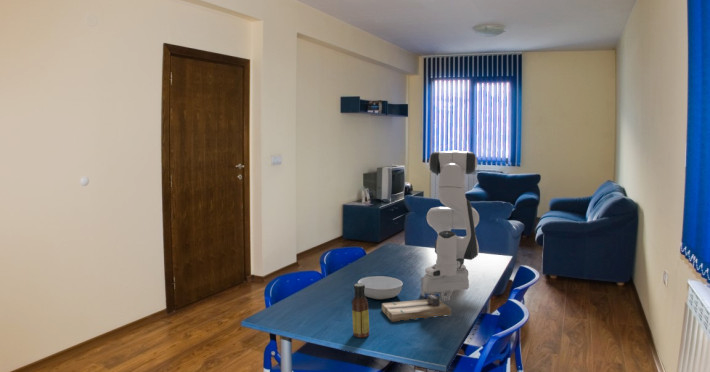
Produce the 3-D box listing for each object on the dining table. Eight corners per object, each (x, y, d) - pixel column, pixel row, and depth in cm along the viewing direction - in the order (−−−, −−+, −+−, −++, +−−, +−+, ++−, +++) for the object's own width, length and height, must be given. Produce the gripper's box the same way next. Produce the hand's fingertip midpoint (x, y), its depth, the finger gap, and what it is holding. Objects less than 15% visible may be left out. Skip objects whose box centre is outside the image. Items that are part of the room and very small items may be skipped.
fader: (427, 301, 225) (427, 294, 224) (433, 301, 225) (433, 294, 225) (432, 306, 219) (432, 299, 219) (439, 305, 220) (439, 298, 219)
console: (381, 310, 224) (381, 303, 224) (437, 304, 231) (437, 298, 230) (392, 321, 211) (392, 314, 210) (451, 315, 217) (451, 308, 217)
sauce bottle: (368, 331, 200) (368, 281, 198) (369, 338, 194) (369, 286, 192) (351, 332, 200) (351, 282, 198) (352, 338, 194) (352, 287, 192)
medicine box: (424, 297, 240) (424, 279, 239) (420, 294, 245) (420, 276, 244) (439, 296, 242) (440, 278, 242) (435, 293, 247) (436, 275, 246)
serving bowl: (399, 305, 230) (400, 290, 230) (353, 302, 235) (353, 287, 234) (404, 290, 251) (405, 277, 250) (362, 288, 255) (362, 274, 254)
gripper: (465, 265, 228) (464, 296, 229) (421, 269, 222) (421, 300, 224) (471, 269, 222) (471, 300, 223) (427, 273, 216) (426, 305, 218)
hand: (445, 300), depth 223 cm, fingers closed
